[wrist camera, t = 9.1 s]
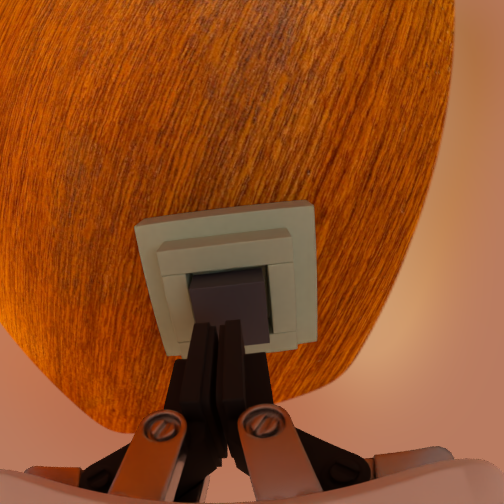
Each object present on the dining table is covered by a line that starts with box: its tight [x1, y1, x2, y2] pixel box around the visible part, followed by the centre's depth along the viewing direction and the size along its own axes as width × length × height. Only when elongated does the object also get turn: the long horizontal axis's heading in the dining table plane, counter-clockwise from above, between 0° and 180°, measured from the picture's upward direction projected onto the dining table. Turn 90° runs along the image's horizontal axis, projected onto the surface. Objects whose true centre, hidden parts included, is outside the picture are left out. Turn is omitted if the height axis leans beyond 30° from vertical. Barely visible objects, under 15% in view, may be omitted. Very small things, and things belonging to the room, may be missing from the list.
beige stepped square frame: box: [134, 200, 317, 359], centre depth 16 cm, size 9×8×4 cm
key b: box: [189, 268, 270, 346], centre depth 14 cm, size 3×3×2 cm
